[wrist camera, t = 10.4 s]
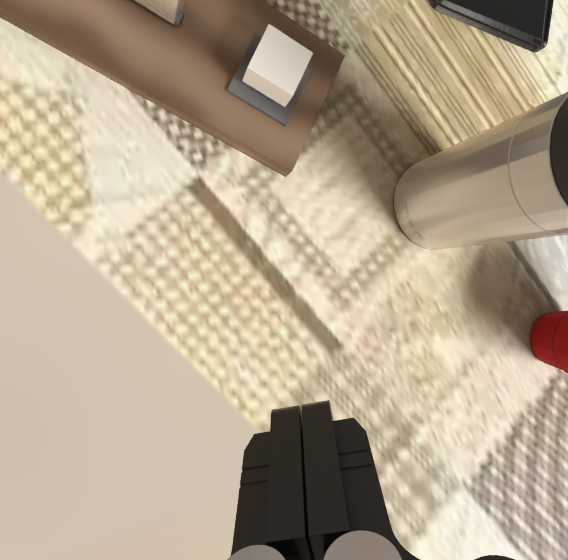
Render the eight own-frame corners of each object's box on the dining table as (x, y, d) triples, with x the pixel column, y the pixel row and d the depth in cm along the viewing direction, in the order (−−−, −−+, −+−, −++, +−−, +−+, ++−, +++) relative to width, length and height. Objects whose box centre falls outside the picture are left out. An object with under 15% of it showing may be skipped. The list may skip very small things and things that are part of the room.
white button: (282, 111, 35) (293, 95, 32) (240, 85, 34) (247, 67, 31) (301, 71, 36) (313, 53, 33) (260, 45, 35) (268, 23, 32)
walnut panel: (285, 176, 38) (293, 169, 36) (-99, -39, 30) (-121, -65, 27) (336, 66, 39) (346, 53, 37) (-18, -167, 31) (-32, -203, 29)
